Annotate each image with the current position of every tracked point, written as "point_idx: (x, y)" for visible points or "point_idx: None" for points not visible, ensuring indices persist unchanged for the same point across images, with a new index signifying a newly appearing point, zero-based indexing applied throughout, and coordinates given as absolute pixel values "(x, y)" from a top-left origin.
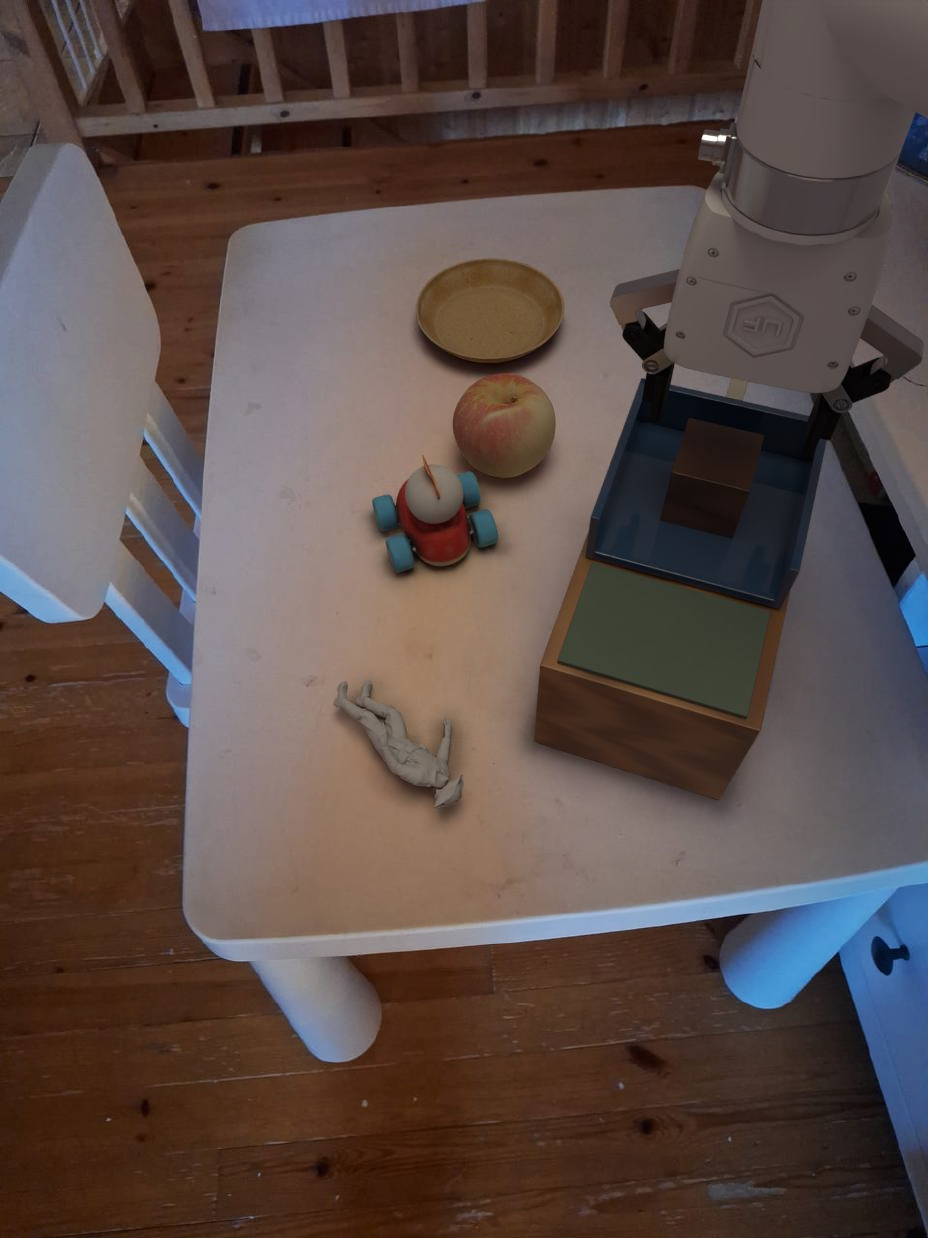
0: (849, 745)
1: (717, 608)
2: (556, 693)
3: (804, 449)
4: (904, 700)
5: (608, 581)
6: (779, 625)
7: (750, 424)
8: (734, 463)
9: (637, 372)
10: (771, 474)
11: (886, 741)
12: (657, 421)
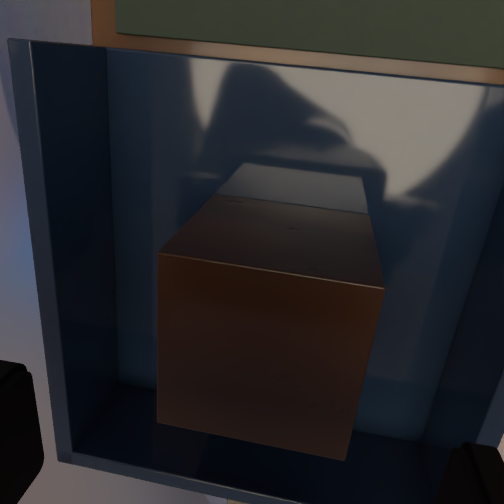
0: (62, 13)
1: (220, 6)
2: None
3: (10, 381)
4: None
5: (485, 19)
6: (97, 9)
7: (210, 445)
8: (211, 336)
9: None
10: None
11: (25, 33)
12: (464, 450)
